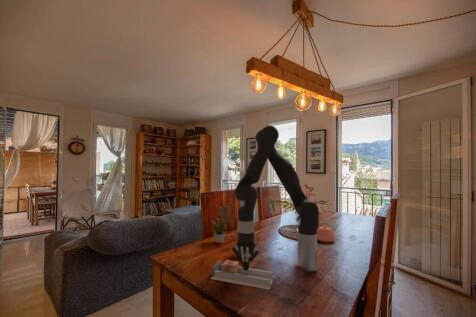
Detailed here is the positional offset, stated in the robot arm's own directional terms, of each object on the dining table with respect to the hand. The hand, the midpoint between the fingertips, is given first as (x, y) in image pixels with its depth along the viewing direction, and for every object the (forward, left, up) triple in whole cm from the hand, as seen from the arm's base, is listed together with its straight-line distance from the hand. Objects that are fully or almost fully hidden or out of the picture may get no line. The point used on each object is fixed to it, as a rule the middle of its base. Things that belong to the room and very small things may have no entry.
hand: (245, 269), depth 97 cm
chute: (+1, 0, -4) cm, 5 cm away
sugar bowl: (-36, -69, -5) cm, 77 cm away
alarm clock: (+6, -22, -5) cm, 23 cm away
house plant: (+29, -42, -5) cm, 51 cm away
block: (+7, 0, -3) cm, 8 cm away
